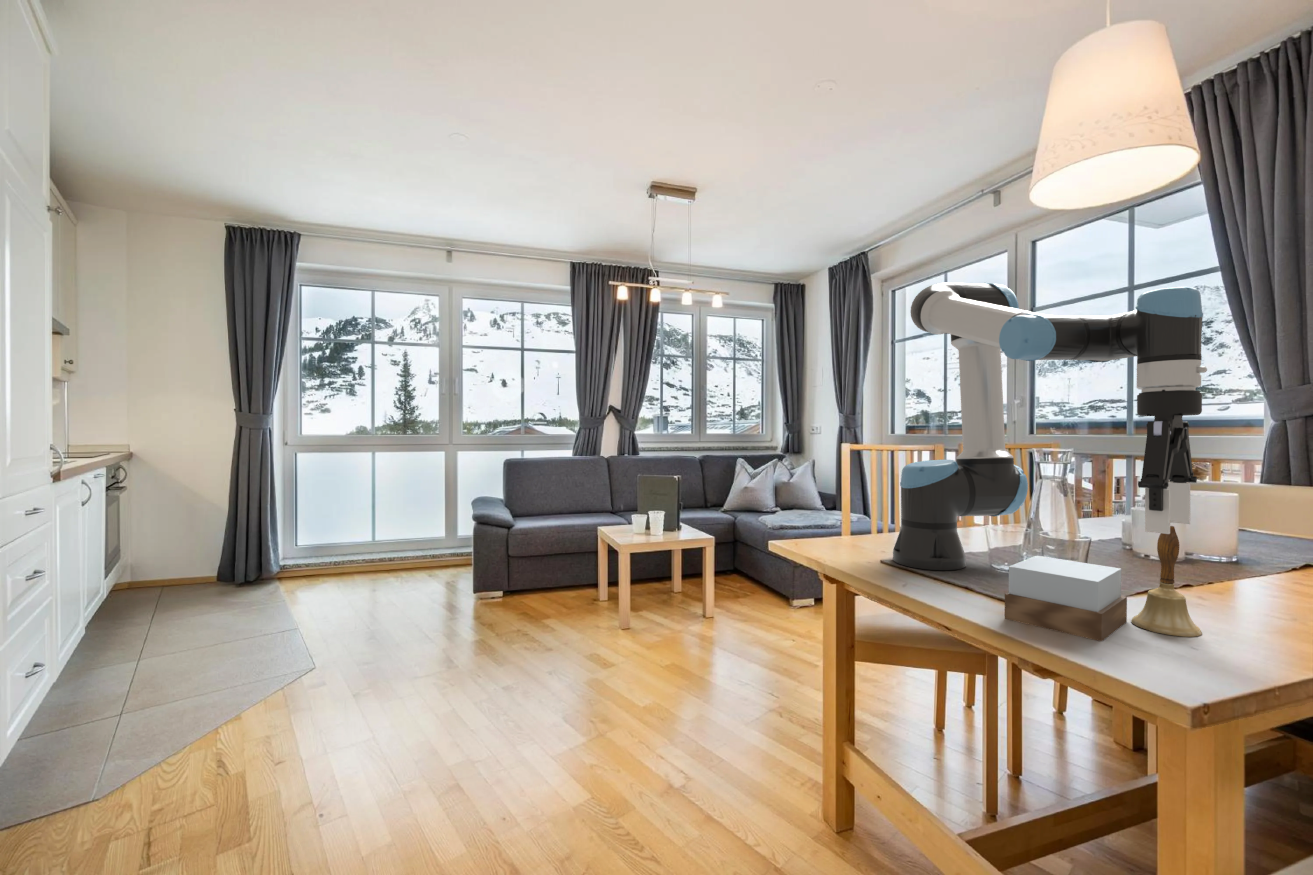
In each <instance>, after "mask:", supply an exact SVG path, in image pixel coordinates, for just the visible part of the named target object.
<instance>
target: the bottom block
mask: <svg viewBox="0 0 1313 875" xmlns="http://www.w3.org/2000/svg"><path fill="white" fill-rule="evenodd" d="M1127 616H1128V596H1124V595H1121V597H1120V598H1118V599H1117V600H1115V601H1114V602H1112V603H1111V604H1109V605H1108V606H1106V607H1105V608H1103V609H1102V610H1100V611H1099V612H1095V611H1090V610H1085V609H1080V608H1075V607H1071V606H1066V605H1061V604H1056V603H1051V602H1047V601H1042V600H1037V599H1032V598H1027V597H1022V596H1018V595H1013V594H1009V591H1008V592H1006V593H1004V619H1006V620H1008V621H1012V622H1013V621H1014V622H1018V623H1022V624H1026V625H1030V626H1035V627H1039V628H1043V629H1048V630H1052V631H1056V632H1060V633H1064V634H1069V635H1072V636H1077V637H1081V638H1084V639H1085V638H1086V639H1089V640H1093V641H1098V642H1103V641H1104V640H1106V639H1107V638H1108V637H1109V636H1111V635H1112V634H1113V633H1114V632H1116V631H1117V630H1119V629H1120V628H1121V627H1122V626H1124V625H1126V623H1127V621H1128V619H1127V618H1128V617H1127Z"/></svg>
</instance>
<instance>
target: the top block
mask: <svg viewBox="0 0 1313 875" xmlns="http://www.w3.org/2000/svg"><path fill="white" fill-rule="evenodd" d="M1008 592H1009V594H1013V595H1018V596H1022V597H1027V598H1032V599H1037V600H1042V601H1047V602H1051V603H1056V604H1061V605H1066V606H1071V607H1075V608H1080V609H1085V610H1090V611H1095V612H1099V611H1100V610H1102V609H1103V608H1105V607H1106V606H1108V605H1109V604H1111V603H1112V602H1114V601H1115V600H1117V599H1118V598H1120V597H1121V596H1122V568H1120V567H1114V566H1107V565H1100V564H1094V563H1088V562H1087V563H1086V562H1081V561H1075V560H1067V559H1061V558H1055V557H1048V556H1042V555H1034V556H1032V557H1029V558H1026V559H1025V560H1021V561H1019V562H1016V563H1014V564H1012V565H1009V566H1008Z"/></svg>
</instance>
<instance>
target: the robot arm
mask: <svg viewBox="0 0 1313 875" xmlns="http://www.w3.org/2000/svg"><path fill="white" fill-rule="evenodd" d="M1018 301H1019V300H1018V298H1017V296H1016V294H1015V292H1013V290H1012V289H1011V288H1008V286H1006V285H1005V284H1001V283H992V282H983V283H980V282H978V283H977V282H975V283H973V282H970V283H969V282H941V283H940V282H939V283H934V284H931V285H929V286H927V287H925V288H923V289H921V291H920V292H918V294H917V295H916V296H915V297H914V299H913V300H912V302H911V306H910V317H911V320H912V322H913V324H914V325H915V326H916V327H917V328H918V329H919V330H921V331H923V332H926V333H930V334H932V335H946V334H947V335H949V334H950V344H951V345H952V346H953V347H954V348H955V349H957V351H958V364H959V365H958V368H959V371H958V372H959V387H960V388H959V391H960V412H961V413H960V414H961V432H962V433H961V434H962V436H961V437H962V438H961V439H962V451H961V453H960V454H959V455H957V456H956V457H955V460H954V459H934V460H933V459H931V460H922V461H916V462H911V463H908V464H906V465H905V466H904V467H902V470H901V475H900V477H901V478H900V482H899V483H900V484H899V485H900V514H901V515H900V530H899V533H898V535H897V538H896V541H895V544H894V546H893V550H892V560H893V562H895V563H896V564H899V565H901V566H905V567H909V568H915V569H921V570H930V571H955V570H961V569H964V568H966V567H967V566H966V564H967V562H966V560H967V559H966V558H967V557H966V553H965V550H964V547H963V545H962V541H961V539H960V536H959V532H958V517H987V516H988V517H999V516H1008V515H1011V514H1014V513H1016V512H1017V511H1018V510H1019V509H1020V508H1021V507H1022V506H1023V505H1024V503H1025V501H1026V499H1027V496H1028V491H1029V482H1028V478H1027V475H1026V474H1025V472H1024V470H1023V469H1022V468H1021V467H1020V466H1018V465H1016V464H1015V459H1014V455H1012V454H1011V453H1010V452H1008V451H1007V449H1006V435H1005V413H1004V396H1003V374H1002V354H1001V351H1002V352H1003V354H1004V355H1005V357H1007V358H1009V359H1011V360H1019V361H1028V362H1033V361H1081V362H1083V363H1087V364H1089V363H1107V362H1110V361H1116V360H1121V359H1128V358H1134V357H1136V389H1138V390H1141V392H1139V393H1138V394H1137V395H1136V413H1137V415H1138V416H1140V417H1154V419H1153V421H1147V424H1146V439H1145V440H1146V441H1145V448H1144V456H1143V464H1142V469H1141V470H1142V471H1141V477H1140V481H1139V480H1138V481H1137V488H1140V489H1141V488H1143V489H1145V490H1144V494H1145V495H1144V496H1145V497H1144V515H1145V516H1144V520H1145V522H1144V528H1145V529H1144V532H1146V533H1155V534H1161V533H1163V534H1170V526H1171V523H1173V524H1183V525H1191V483H1192V484H1193V483H1194V484H1195V483H1196V484H1197V481H1198V477H1197V475H1195V474H1194V472H1193V463H1192V454H1191V444H1190V443H1191V442H1190V436H1189V435H1190V434H1189V433H1190V432H1189V427H1190V423H1189V421H1184V420H1183V417H1184V416H1198V415H1200V414H1202V412H1203V392H1201V391H1200V390H1196V388H1199V387H1201V386H1202V375H1201V373H1202V374H1203V373H1207V371H1208V368H1207V366H1204V365H1203V366H1201V365H1202V358H1203V357H1202V338H1203V337H1202V336H1203V334H1202V331H1203V317H1204V313H1203V307H1202V297H1201V292H1200V290H1198V289H1197V288H1194V287H1191V286H1175V287H1166V288H1158V289H1154V290H1150V291H1146V292H1144V293H1142V294H1140V295H1139V296H1138V297H1137V301H1136V305H1135V310H1130V311H1127V312H1123V313H1117V314H1112V315H1075V314H1073V315H1059V314H1058V315H1057V314H1056V315H1054V314H1046V313H1039V312H1034V311H1029V310H1026V309H1025V310H1024V309H1020V307H1019V306H1020V305H1019V302H1018Z"/></svg>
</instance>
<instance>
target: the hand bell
mask: <svg viewBox="0 0 1313 875" xmlns="http://www.w3.org/2000/svg"><path fill="white" fill-rule="evenodd" d="M1156 550H1157V556H1158V559H1159V561H1160V574H1159V575H1160V576H1159V577H1160V578H1159V586H1158V587H1157V588H1152V589H1149V590H1148V591H1147V594H1146V600H1145V603H1144V606H1143V608H1142V609H1141V611H1140V612H1138V614H1137V615H1134V616H1133V617H1132V618H1131V620H1130V622H1131V623H1132V624H1133V625H1134V626H1136V627H1138V628H1141V629H1143V630H1146V631H1150V632H1153V633H1157V634H1162V635H1166V636H1174V637H1182V638H1196V637H1200V636H1202V635H1203V632H1202V630H1201V628H1200V627H1199V626H1197V625H1196V623H1195V622H1194V621H1193V619H1192V618H1191V616H1190V613H1189V610H1188V605H1187V598H1186V596H1185V595H1184V594H1183V593H1181V592H1179V591H1177V590H1176V589H1175V582H1176V581H1175V566H1176V562H1177V560H1178V558H1179V555H1180V554H1179V553H1180V541H1179V538H1178V535H1177V532H1176V527H1175V526H1173V525H1170V534H1163V533H1159V536H1158V540H1157V544H1156Z"/></svg>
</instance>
